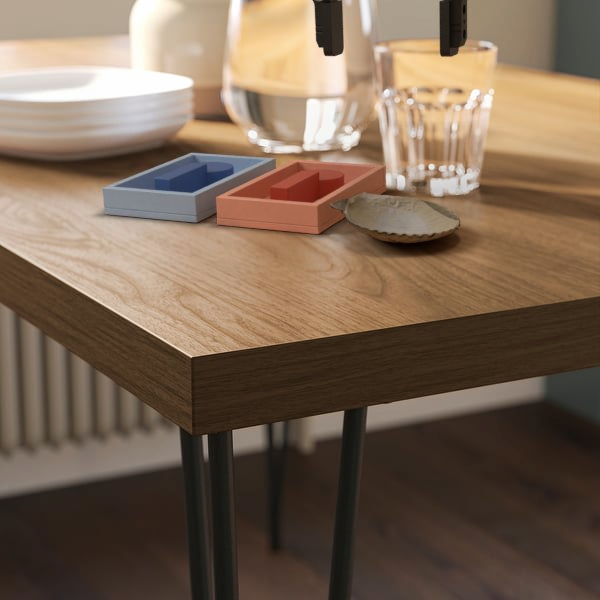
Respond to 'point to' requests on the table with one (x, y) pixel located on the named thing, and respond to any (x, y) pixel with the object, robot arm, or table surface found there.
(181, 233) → the table surface
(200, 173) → the spoon blue
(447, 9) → the robot arm
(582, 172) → the table surface
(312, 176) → the spoon red
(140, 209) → the tray blue
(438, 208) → the seashell
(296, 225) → the tray red
